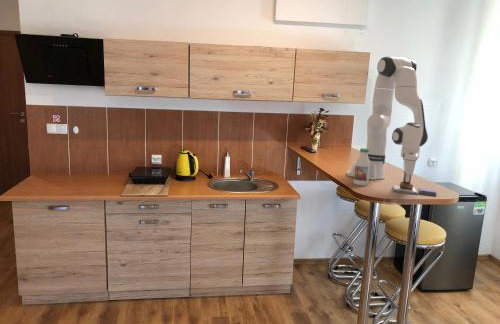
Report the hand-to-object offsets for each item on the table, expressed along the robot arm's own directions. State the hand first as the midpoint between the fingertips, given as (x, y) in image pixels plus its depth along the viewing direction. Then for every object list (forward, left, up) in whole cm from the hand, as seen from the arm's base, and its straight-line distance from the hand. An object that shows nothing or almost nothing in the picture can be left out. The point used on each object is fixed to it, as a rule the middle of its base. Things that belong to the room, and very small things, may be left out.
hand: (406, 179), depth 209 cm
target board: (0, 0, -6) cm, 6 cm away
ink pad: (+11, 0, -6) cm, 13 cm away
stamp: (0, 0, -5) cm, 5 cm away
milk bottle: (-23, +3, -6) cm, 24 cm away
